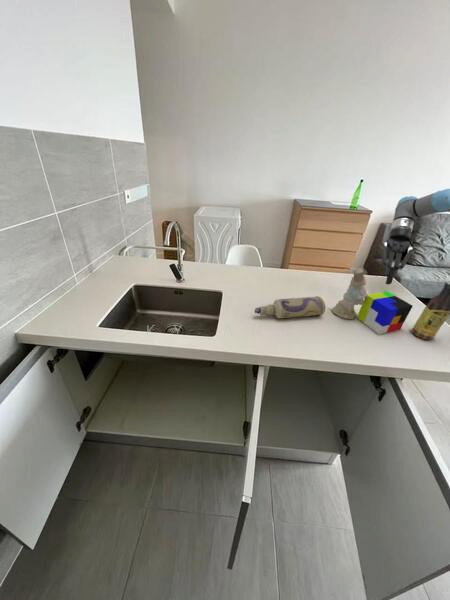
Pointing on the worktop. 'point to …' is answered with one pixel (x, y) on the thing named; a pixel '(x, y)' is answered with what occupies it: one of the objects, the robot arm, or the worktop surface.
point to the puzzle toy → (384, 312)
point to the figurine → (352, 296)
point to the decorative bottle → (294, 307)
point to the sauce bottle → (433, 314)
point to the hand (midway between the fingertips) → (388, 283)
